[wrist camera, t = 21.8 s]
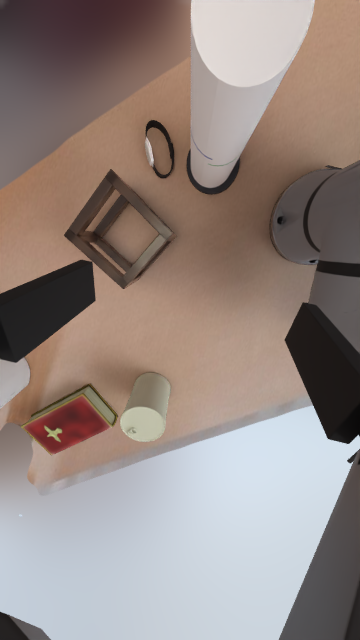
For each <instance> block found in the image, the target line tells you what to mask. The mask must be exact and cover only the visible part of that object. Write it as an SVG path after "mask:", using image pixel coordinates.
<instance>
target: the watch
mask: <svg viewBox="0 0 360 640" xmlns="http://www.w3.org/2000/svg"><path fill="white" fill-rule="evenodd" d="M152 127H154V128H157V129H159V130H160V131H161V132H162V133H163V134H164V136H165V138H166V140H167V142H168V146H169V150H170V156H171V158H172V166H171V171H172V169H173V164H174V150H173V144H172V143H171V141H170V137H169V134H168V132H167V131H166V129H165V128H164V126H163V125H162V124H161V123H159V122H158V121H155V120H151V121H149V122H148V124H147V126H146V141H145V150H146V155H147V159H148V162H149V164H150V165H152V167H153V169H154V171H155V173H156V175H157V176H158V177H160V178H166V177H168V176H169V175H170V173H171V171H170V172H169V173H168V174H166V175H161V174H160V173H159V172H158V171H157V170H156V168H155V165H154V159H153V153H152V149H151V148H152V147H151V145H150V142H149V140H148V139H147V131H148V130H149V129H150V128H152Z"/></svg>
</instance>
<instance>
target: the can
mask: <svg viewBox="0 0 360 640" xmlns="http://www.w3.org/2000/svg"><path fill="white" fill-rule="evenodd" d="M170 391H171V388H170V384H169V382H168V381H167V379H166V378H165V377H163V376H162V375H160V374H157V373H145V374H142V375H141V376H139V377H138V378H137V379H136V381H135V383H134V387H133V390H132V393H131V395H130V398H129V400H128V403H127V405H126V407H125V410H124V412H123V414H122V416H121V419H120V425H121V428H122V430H123V432H124V433H125V434H126V435H127V436H128V437H130V438H131V439H134V440H136V441H141V442H149V441H153V440H156V439H158V438H159V437H160V436H161V435H162V434H163V432H164V430H165V422H166V414H167V407H168V400H169V395H170Z"/></svg>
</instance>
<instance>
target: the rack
mask: <svg viewBox="0 0 360 640" xmlns="http://www.w3.org/2000/svg"><path fill="white" fill-rule="evenodd" d="M115 189H117V190H118V192H119V193H120V194H121V195H120V197H119V198H118V199H117V201H116V202H115V203H114V205H113V206H112V207H111V209H110V210H109V211H108V213H107V214H106V215H105V217H104V218H103V219H102V221H101V222H100V223H99V225H98V226H97V227H96V229H95V230H94V232H91V231H85V230H86V229H87V227H88V226H89V224H90V223H91V222H92V220H93V219H94V218H95V216H96V215H97V213H98V212H99V211H100V209H101V208H102V207H103V205H104V204H105V203H106V201H107V200H108V198H109V197H110V196H111V194H112V193H113V192H114V190H115ZM128 203H130V204H131V205H132V206H133V207H134V208H135V209H136V210H137V211H138V212H139V213H140V214H141V215H142V216H143V217H144V218H145V219H146V220H147V221H148V222H149V223H150V224H151V225H152V226H153V227H154V228H155V229H156V230H157V231H158V232H159V233H160V234H159V235H158V236H157V237H156V239H155V240H154V241H153V242H152V243H151V244H150V246H149V247H148V248H147V249H146V250H145V251H144V253H143V254H142V255H141V256H140V257H139V258H138V259H137V261H136V262H135V263H134V264H133V265H131V264H130V263H129V262H128V261H127V260H126V259H125V258H123V257H122V256H121V255H120V254H119V253H118V252H117V251H116V250H115V249H114V248H113V247H112V246H111V245H110V244H109V243H108V242H107V241H105V240H104V239H103V238H102V237H103V236H104V235H105V233H106V232H107V231H108V229H109V228H110V227H111V225H112V224H113V223H114V222H115V220H116V219H117V218H118V216H119V215H120V214H121V212H122V211H123V210H124V209H125V207H126V206H127V205H128ZM64 236H65V237H66V238H67V239H68V240H69V241H71V242H72V243H73V244H74V245H75V246H76V247H77V248H78V249H79V250H81V251H82V252H83V253H84V254H85V255H86V256H87V257H88V258H89V259H91V260H92V261H93V262H94V263H95V264H96V265H97V266H98V267H99V268H101V269H102V270H103V271H104V272H105V273H106V274H107V275H108V276H109V277H110V278H112V279H113V280H114V281H115V282H116V283H117V284H118V285H119V286H120V287H122V288H123V289H125V288H126V287H128V286H129V285H131V284H132V283H134V282H135V281H137V280H138V279H139V278H140V277H141V276H142V275H143V274H144V273H145V271H146V270H147V269H148V268H149V267H150V266H151V265H152V264H153V262H154V261H155V260H156V259H157V258H158V257H159V256H160V255H161V254H162V252H163V251H164V250H165V249H166V248H167V247H168V246H169V245H170V243H171V242H172V241H173V240H174V239H175V238H176V237H177V236H176V235H175V233H174V232H173V231H172V230H171V229H170V228H169V227H168V226H167V225H166V224H165V223H164V222H163V221H162V220H161V219H160V218H159V217H158V216H157V215H156V214H155V213H154V212H153V211H152V210H151V209H150V208H149V206H148V205H147V204H146V203H145V202H144V201H143V200H142V199H141V198H140V197H139V196H138V195H137V194H136V193H135V192H134V191H133V190H132V189H131V188H130V187H129V186H128V185H127V184H126V183H125V182H124V181H123V180H122V179H121V178H120V177H119V176H118V175H117V174H116V173H115V172H114V171H113V170H112V169H110V171H109V172H108V174H107V175H106V176H105V178H104V179H103V181H102V182H101V183H100V185H99V186H98V188H97V189H96V190H95V192H94V193H93V195H92V196H91V198H90V199H89V200H88V202H87V203H86V205H85V206H84V208H83V209H82V210H81V212H80V213H79V215H78V216H77V218H76V219H75V220H74V222H73V223H72V225H71V226H70V227H69V229H68V230H67V232H66V233H65V234H64ZM90 243H96V244H97V245H98V246H99V247H100V248H101V249H102V250H103V251H104V252H105V253H106V254H107V255H109V256H110V257H111V258H112V259H113V260H114V261H115V262H116V263H117V264H118V265H119V266H120V267H121V268H123V269H124V270H125V271H126V273H125V275H124V274H122V273H121V272H120V271H119V270H118V269H117V268H116V267H115V266H114V265H113V264H112V263H110V262H109V261H108V260H107V259H106V258H105V257H104V256H103V255H102V254H101V253H100V252H99V251H97V250H96V249H95V248H94V247H93V246H92V245H91V244H90Z"/></svg>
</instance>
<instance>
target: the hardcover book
mask: <svg viewBox="0 0 360 640" xmlns="http://www.w3.org/2000/svg"><path fill="white" fill-rule="evenodd" d="M31 417H32V418H31V419H30V420H29V421H28V422H27V423H25V424H23V425H22V426H21V427H22V428H23V429H24V430H25V431H26V432H27V433H28V434H29V435H30V436H31V437H32V438H33V439H35V440H36V441H37V442H38V443H39V444H40V445H41V446H42V447H43V448H44V449H45V450H46V451H47V452H48V453H49V454H50V455H53V454H56V453H58V452H60V451H62V450H64V449H66V448H68V447H71V446H73V445H75V444H77V443H79V442H81V441H83V440H86V439H88V438H90V437H92V436H94V435H96V434H98V433H101V432H103V431H105V430H107V429H109V428H111V427H113V426H114V425H115V423H116V420H117V414H116V413H115V412H114V411H113V409H112V408H111V407H110V406H109V405H108V404H107V402H106V401H105V400H104V399H103V398H102V397H101V395H100V394H99V393H98V392H97V391H96V390H95V388H94V387H93V386H92V385H91V384H88V385H86V386H84V387H82V388H81V389H79V390H77V391H75V392H73V393H71V394H69V395H68V396H66V397H64V398H62V399H60V400H58V401H56V402H55V403H53V404H51V405H49V406H47V407H45V408H43V409H42V410H40V411H38V412H36V413H34V414H32V415H31Z"/></svg>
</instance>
